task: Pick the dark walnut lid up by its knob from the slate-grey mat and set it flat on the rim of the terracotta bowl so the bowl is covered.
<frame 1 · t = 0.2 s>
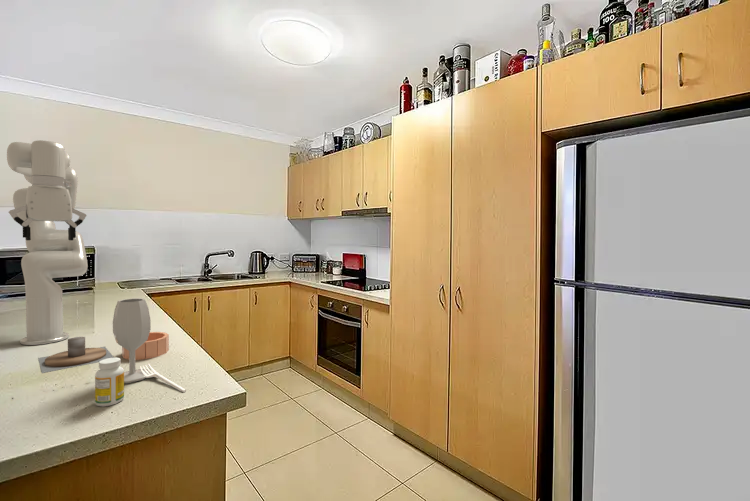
hand: (50, 240, 107), 36 cm above the counter, tool pointing down, fingers open, 9 cm apart
lid: (76, 358, 106), point 1 cm above the counter, touching mat
mat: (76, 361, 106), on the counter
bowl: (146, 355, 112), on the counter
fork: (163, 382, 92), on the counter, touching wineglass
supplement bottle: (110, 402, 82), on the counter
wineglass: (132, 378, 95), on the counter, touching fork
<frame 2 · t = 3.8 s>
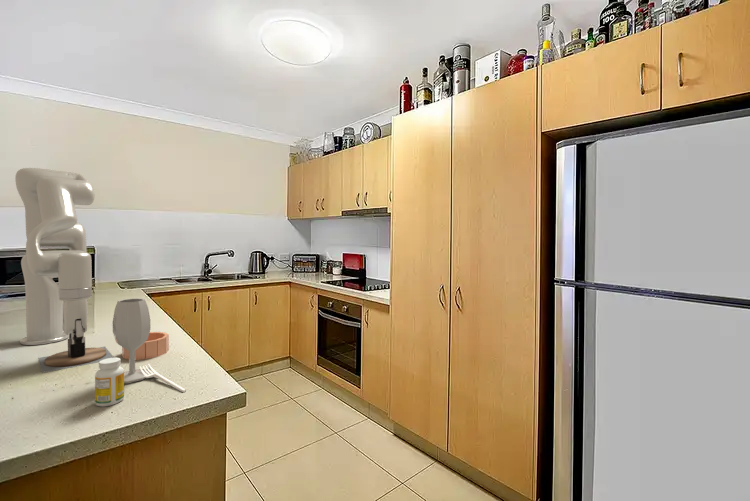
hand: (76, 354, 106), 2 cm above the counter, tool pointing down, fingers closed on lid, 4 cm apart
lid: (76, 358, 106), point 1 cm above the counter, touching gripper, mat
fork: (163, 382, 92), on the counter, touching wineglass
everything else where it was.
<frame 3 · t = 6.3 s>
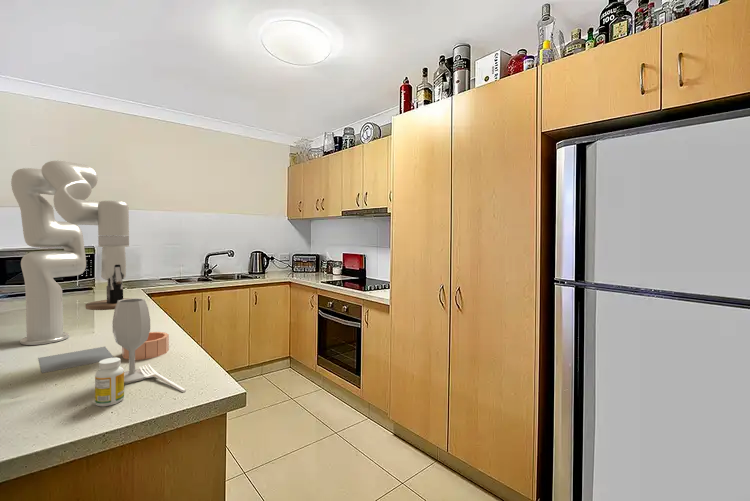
hand: (115, 301, 108), 18 cm above the counter, tool pointing down, fingers closed on lid, 4 cm apart
lid: (115, 305, 108), point 16 cm above the counter, touching gripper
everything else where it was.
when the fingers open (9 cm above the counter, at t = 9.1 s): lid drops 1 cm, resting on bowl.
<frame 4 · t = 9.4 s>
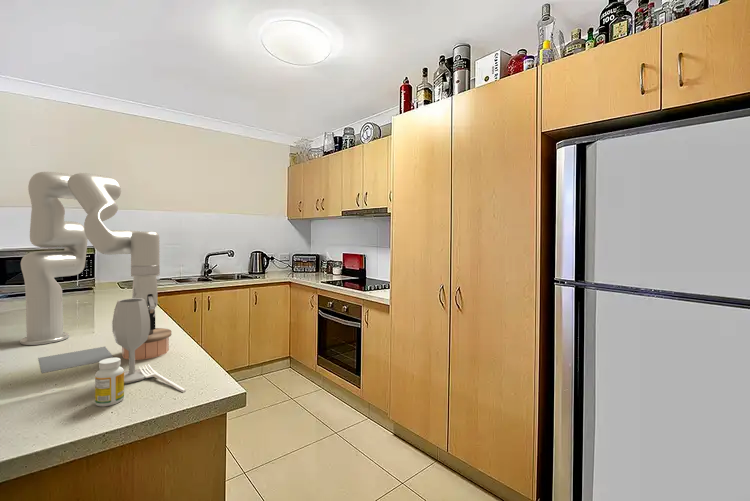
hand: (145, 327, 111), 9 cm above the counter, tool pointing down, fingers open, 6 cm apart
lid: (145, 337, 111), point 6 cm above the counter, touching bowl
fork: (162, 382, 92), on the counter, touching wineglass
everything else where it was.
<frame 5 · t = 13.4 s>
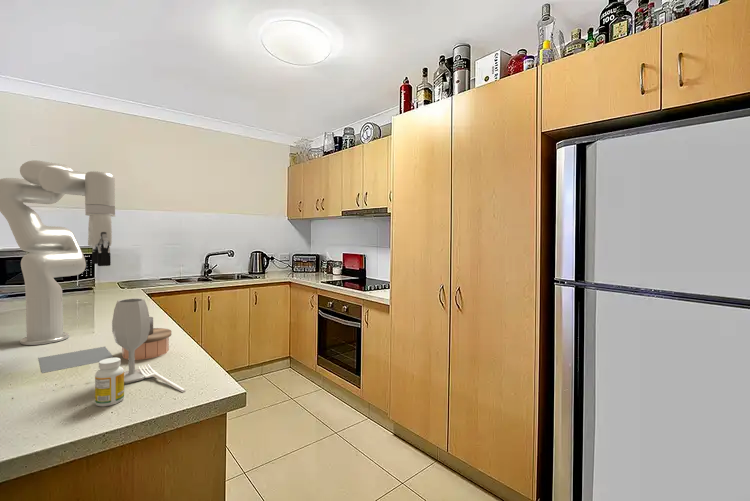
hand: (101, 264, 114), 28 cm above the counter, tool pointing down, fingers open, 9 cm apart
fork: (162, 382, 92), on the counter, touching wineglass
everything else where it was.
at the end: lid 0.1 cm off-centre on the bowl, point 6.0 cm above the bowl's base; lid tilted 0°; the gripper is holding nothing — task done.
